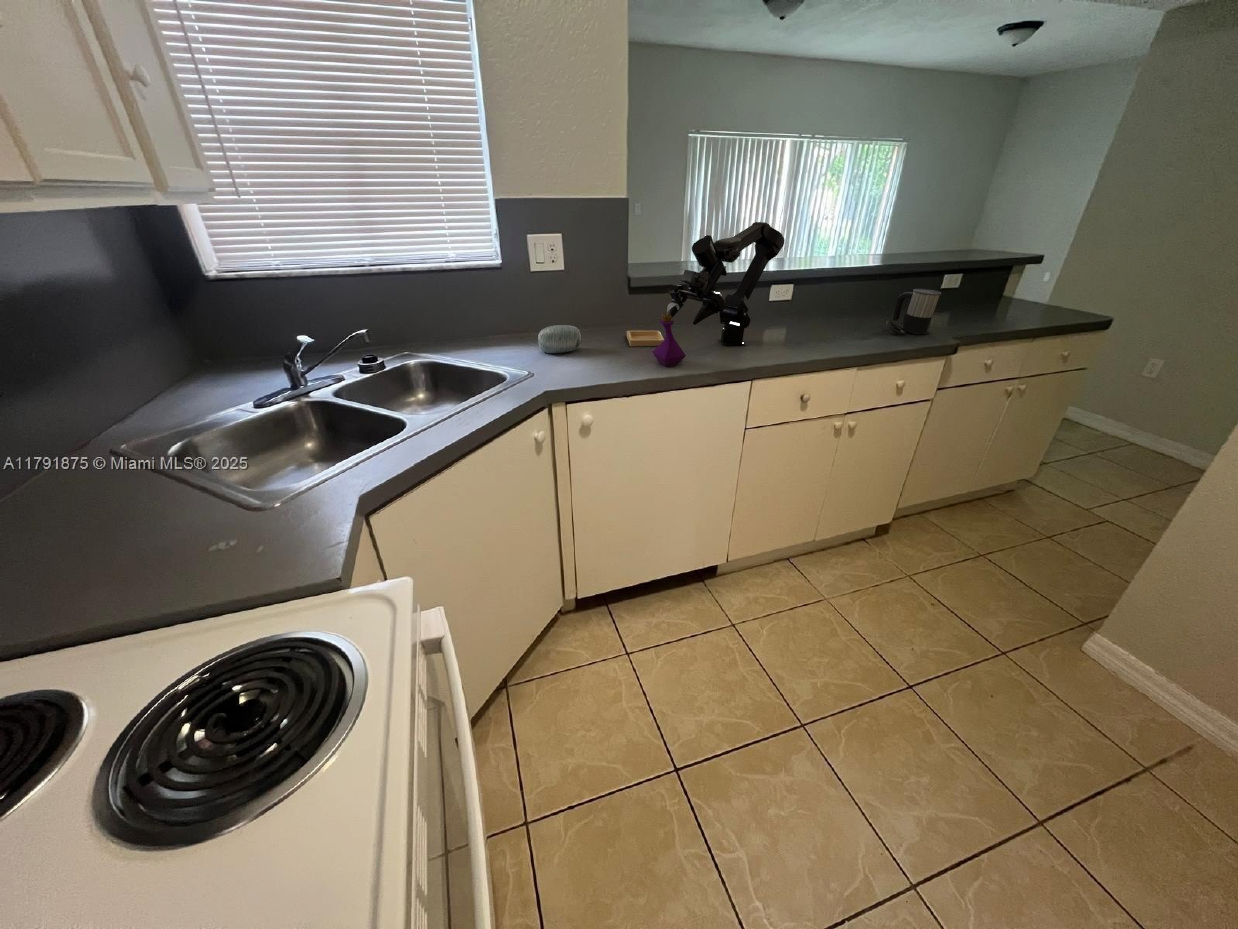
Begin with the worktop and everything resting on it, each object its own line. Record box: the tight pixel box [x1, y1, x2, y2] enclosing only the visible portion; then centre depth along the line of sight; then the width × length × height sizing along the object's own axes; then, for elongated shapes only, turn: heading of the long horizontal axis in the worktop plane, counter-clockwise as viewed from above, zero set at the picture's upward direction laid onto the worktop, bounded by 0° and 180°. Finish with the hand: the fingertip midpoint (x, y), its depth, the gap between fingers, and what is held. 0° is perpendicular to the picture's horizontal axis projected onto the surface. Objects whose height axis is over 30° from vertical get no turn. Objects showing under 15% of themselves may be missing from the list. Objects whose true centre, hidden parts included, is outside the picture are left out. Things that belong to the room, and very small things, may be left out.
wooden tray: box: [626, 330, 665, 347], centre depth 167 cm, size 12×12×2 cm
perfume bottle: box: [652, 302, 687, 368], centre depth 143 cm, size 8×8×18 cm
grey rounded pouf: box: [537, 324, 582, 354], centre depth 154 cm, size 14×10×10 cm
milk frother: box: [886, 288, 942, 335], centre depth 180 cm, size 14×16×15 cm
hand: (681, 320), depth 144 cm, fingers open, 9 cm apart
